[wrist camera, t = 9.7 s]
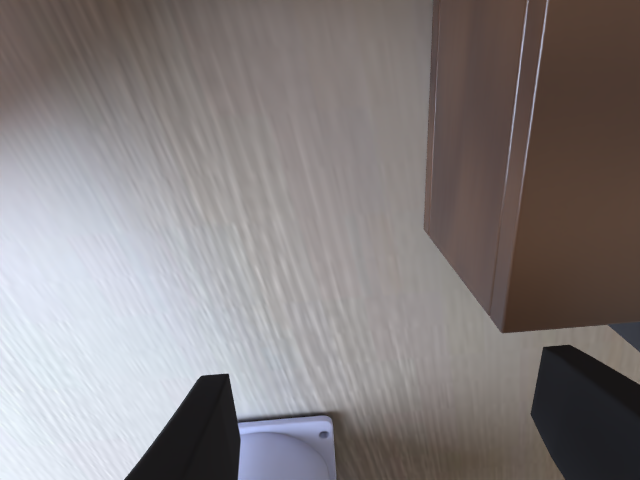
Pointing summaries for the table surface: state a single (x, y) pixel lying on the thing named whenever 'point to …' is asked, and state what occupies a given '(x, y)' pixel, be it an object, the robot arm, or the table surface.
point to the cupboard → (537, 158)
